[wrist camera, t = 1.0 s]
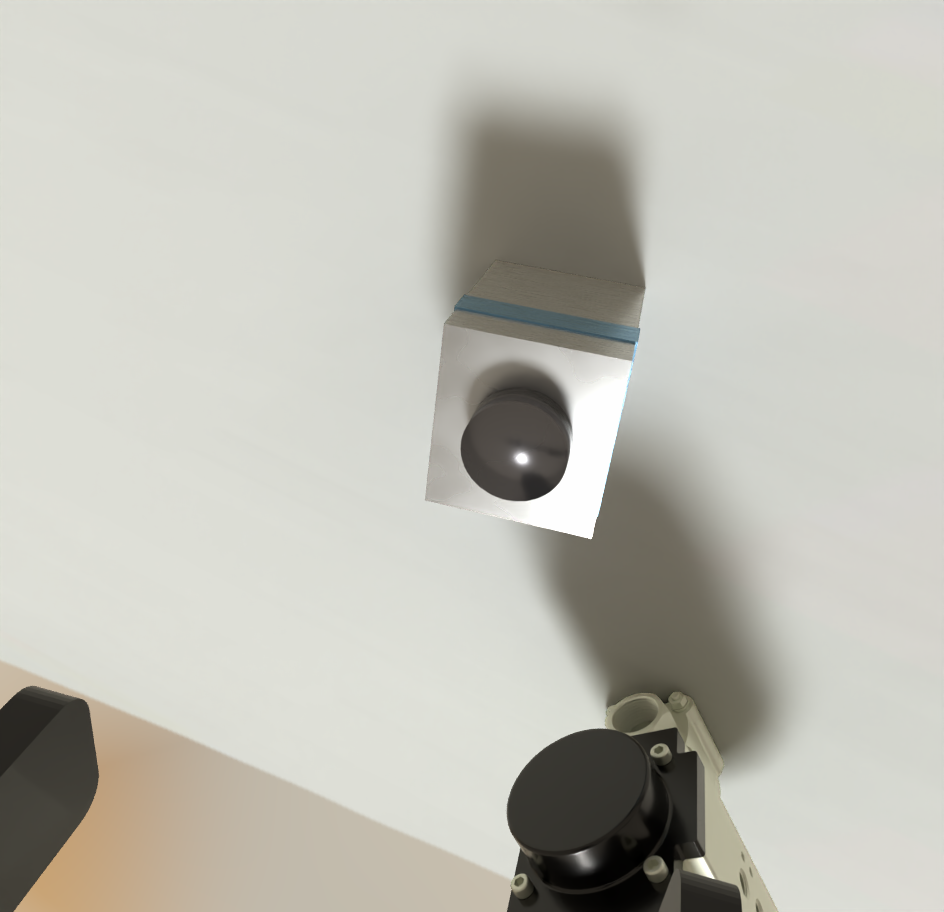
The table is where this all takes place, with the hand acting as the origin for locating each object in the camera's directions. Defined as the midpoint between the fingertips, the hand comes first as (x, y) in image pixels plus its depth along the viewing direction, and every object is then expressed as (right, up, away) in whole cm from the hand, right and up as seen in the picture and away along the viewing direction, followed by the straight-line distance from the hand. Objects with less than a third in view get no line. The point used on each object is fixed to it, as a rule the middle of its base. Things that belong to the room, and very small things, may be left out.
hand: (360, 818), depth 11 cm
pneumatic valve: (+9, -6, +21) cm, 24 cm away
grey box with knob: (+4, +8, +15) cm, 18 cm away
